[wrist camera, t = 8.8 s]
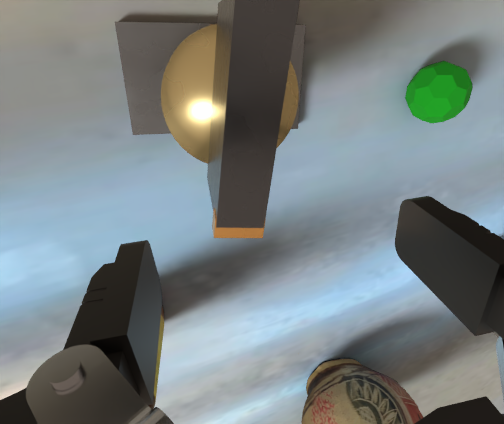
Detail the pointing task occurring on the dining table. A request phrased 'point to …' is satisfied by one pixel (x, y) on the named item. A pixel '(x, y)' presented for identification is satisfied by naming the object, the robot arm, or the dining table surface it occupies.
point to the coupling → (235, 105)
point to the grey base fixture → (154, 64)
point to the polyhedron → (438, 92)
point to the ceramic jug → (356, 396)
